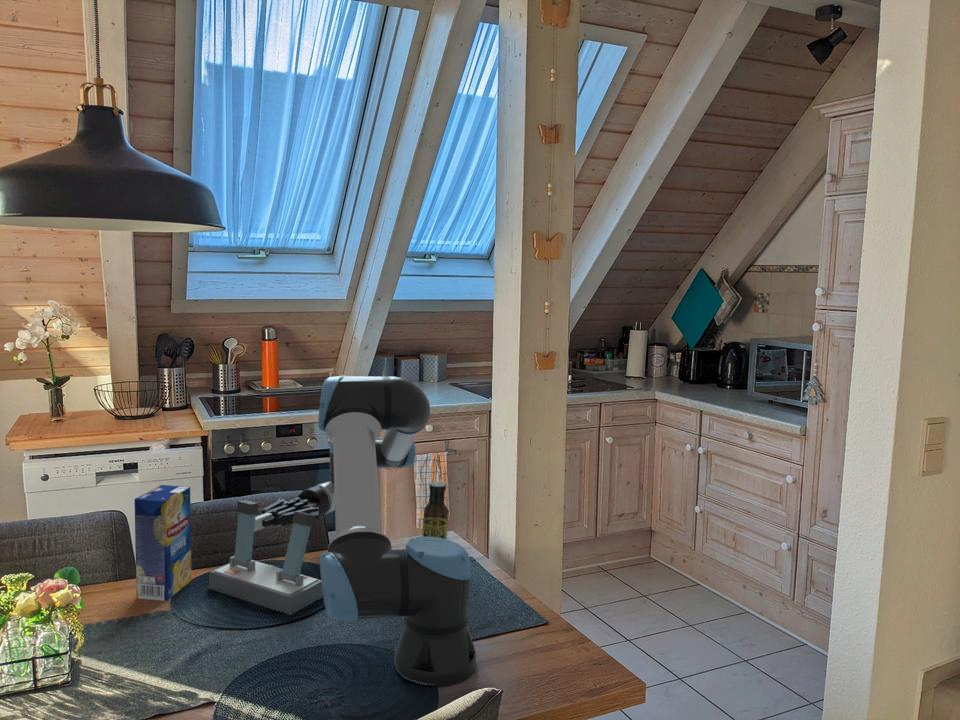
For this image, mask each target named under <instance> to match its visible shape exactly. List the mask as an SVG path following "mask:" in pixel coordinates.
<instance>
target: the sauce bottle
mask: <svg viewBox="0 0 960 720" xmlns="http://www.w3.org/2000/svg"><path fill="white" fill-rule="evenodd" d="M428 490H429V499H428V503H427V505H426V506H425V508H424V510H423V518H422V532H421V533H422V534H421V537H425V536H426V537H438V538H443V539H447V540H448V525H449V510H448V507H447V505H446V504H445V501H446V500H445V495H446V493H445V492H446V490H447V485H446V483H444V482H442V481H434V482H430V484H429V489H428Z"/></svg>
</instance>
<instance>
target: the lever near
mask: <svg viewBox="0 0 960 720" xmlns="http://www.w3.org/2000/svg"><path fill="white" fill-rule="evenodd" d="M315 519H316V518H315V515H311V514H307V513H303V512H296V511H295V512H294V516H293V520H292V522H293V525H292V528H291V533H290V536H289V541H288V545H287V549H286V554H285V557H284V562H283V565H282V566H283V567H282V568H281V569H282V573H281V578H282V579H285V580H288V581H292V582H295V577H296V576H298V575H300V574H301V570H302V565H303V561H304V559H305V558H304V557H305V553H306V550H307V544H308V541H309V536H310V531H311V528H312V527H314V523H315Z"/></svg>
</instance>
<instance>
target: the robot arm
mask: <svg viewBox="0 0 960 720" xmlns="http://www.w3.org/2000/svg"><path fill="white" fill-rule="evenodd" d="M430 416H431V405H430V401H429V399H428V397H427V395H426V393H425V392H424V391H423V390H422V388H420V387H419V386H418V385H416V384H415V383H414V382H412V381H410V380H408V379H406V378H404V377H400V376H399V377H398V376H393V375H391V376H379V375H378V376H374V375H373V376H369V375H368V376H367V375H361V376H355V375H349V376H348V375H345V374H343V375H341V376H340V375H339V376H337V375H336V376H330V377H328V378H326V379H324V381H323V383H322V387H321V393H320V399H319V410H318V422H317V423H318V424H317V426H318V429H319V431H322V432H325V437H326V438H327V439H328V441H329V443H330V445H329V446H330V447H329V480H328V481H325V482H323V483H319V484H317V485H314V486H311V487H309V488H306V489H304V490H302V491H301V492H300V494H299V495H298V496H297V497H295V498H292V499H290V500H289V501H286V500H285V499H284V498H282V497H280V498H278V499H277V501H275V502H272V503H271V504H269V505H267V506H266V507H264V508H262V509H261V514H260V515H256V517H255V527H254V533H255V532H259V531H260V530H263V529H266V528H268V527H270V526H273V525H275V526H277V525H280V526H283V527H284V526H289V525H292V524H294V523H293V522H292V520H293V516H294V512H295V511H296V512H303V513H307V514H311V515H315V519H319V518H320V517H321V516H324V515H328V514H329V513H331V512H333V511H334V517H335V518H334V519H335V520H334V521H335V522H334V523H335V537H334V538H333V539H332V540H331V541H330V543H329V544H328V547H327V551H326V552H324V553H322V554H321V555H320V558H319V571H320V580H321V583H322V591H323V598H322V599H323V603H324V607H325V611H326V613H327V615H328V617H330V618H331V619H332V620H334V621H352V622H357V620H371V619H372V620H373V619H381V618H382V619H383V618H397V617H404V625H403V628H402V631H401V634H400V636H399V639H398V642H397V645H396V648H395V650H394V653H393V656H394V657H393V666H394V665H395V667H396V669H397V670H398V671H399V672H400V673H401V674H402V675H403V676H405V677H407V678H409V679H411V680H416V681H418V682H423V683H427V684H429V683H430V684H434V685H436V686H435V687H443V686H445V687H446V686H451V685H455V684H458V683H461V682H463V681H465V680H467V679H468V678H470V677H471V676H472V675H473V673H474V672H475V670H476V668H477V665H476V663H477V654H476V649H475V645H474V641H473V639H472V635H471V631H470V628H469V606H470V605H469V603H470V602H469V601H470V600H469V599H470V578H471V577H472V573H471V565H470V564H471V562H470V561H471V559H470V555H469V553H468V551H467V550H466V548H465V547H464V546H462V545H460V544H459V543H457V542H455V541H452V540H450V539H448V538H447V539H443V538H438V537H426V536H425V537H422V536H416V537H415V538H414V537H413V538H411V539H409V540H408V541H407V543H406V545H405V549H392V542H391V540H390V538H389V536H387V535H386V534H384V533H383V532H382V516H381V504H380V492H379V490H380V489H379V479H378V477H379V475H378V469H387V468H388V469H394V468H396V469H397V468H398V469H403V468H410V467H413V466H414V464H415V460H416V445H415V442H414V441H415V439H416V437H417V434H418V433H419V432H421V431H422V430H424V428H425V427H426V425H427V424H428V422H429V419H430ZM382 431H384V434H383V437H382V439H381V438H380V439H378V438H379V437H380V435H381V433H382Z"/></svg>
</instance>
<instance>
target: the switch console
mask: <svg viewBox="0 0 960 720" xmlns="http://www.w3.org/2000/svg"><path fill="white" fill-rule="evenodd" d="M234 556H235V555H232V556H230V557H229V563H226V564H224V565H221V566H219V567H217V568H215V569H212V570H209V571H208V572H209V573H208V576H209V577H208V583H209V584H208V585H209V586H208V587H209V588H208V589H209V590H212V591H215V592H217V593H221V594H225V595H227V596H229V597H230V596H231V597H233V598H236V599H239V600H243V601H246V602H249V603H251V604H253V605H257V606H261V607H264V608H267V609H269V608H270V610H272V609H273V611H275V610H276V612H278V611H280V612H279V613H281V612H284V613H287V614H289V615H288V616H290V615H292V614H293V613H295V612H297V611H299V610H300V609H302V608H303V607H305V606H306V605H308V604H310V603H312V602H313V601H315V600H317V599H318V598H320V597H322V596H323V591H322V583H321V580H322V579H318V578H314V577H312V576H307V575H304V574H302V573H300V575H298V576H296V577H295V582H292V581H288V580H285V579H282V578H281V573H282V569H283V568H282V567H277V566H274V565H270V564H268V563H267V564H266V563H264V562H260V561H257V560H254V559H251V561H250V562H248V563H247V568H245V567H242V566H239V565H235V564H234ZM302 610H303V609H302ZM299 612H300V611H299ZM284 613H283V614H284ZM297 613H298V612H297ZM287 614H286V615H287ZM295 614H296V613H295ZM293 615H294V614H293ZM293 615H292V616H293Z"/></svg>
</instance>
